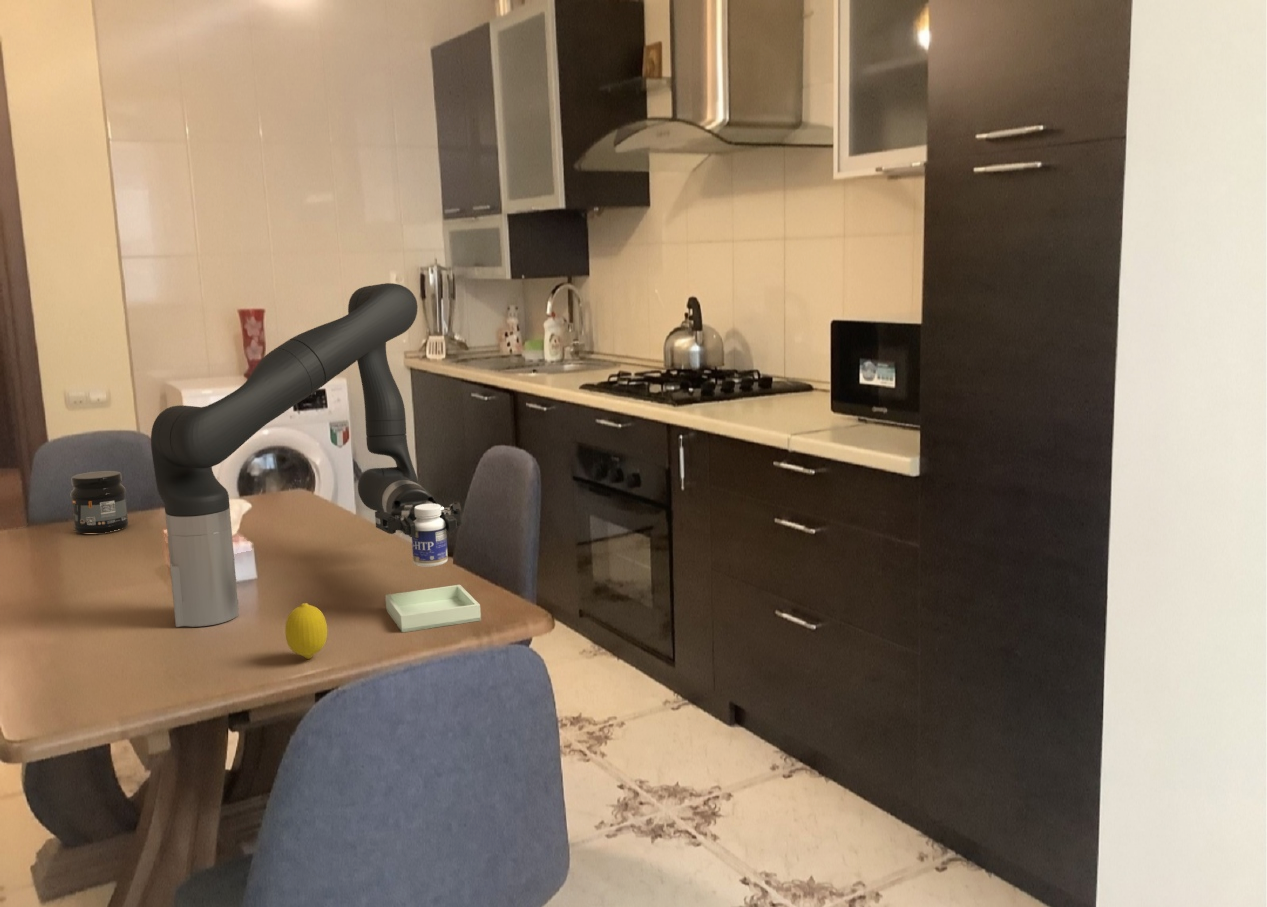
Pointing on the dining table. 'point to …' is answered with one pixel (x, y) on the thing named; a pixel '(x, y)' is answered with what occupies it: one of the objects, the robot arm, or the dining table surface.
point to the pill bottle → (429, 536)
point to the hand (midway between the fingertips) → (432, 528)
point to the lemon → (306, 630)
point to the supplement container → (98, 502)
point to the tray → (432, 608)
